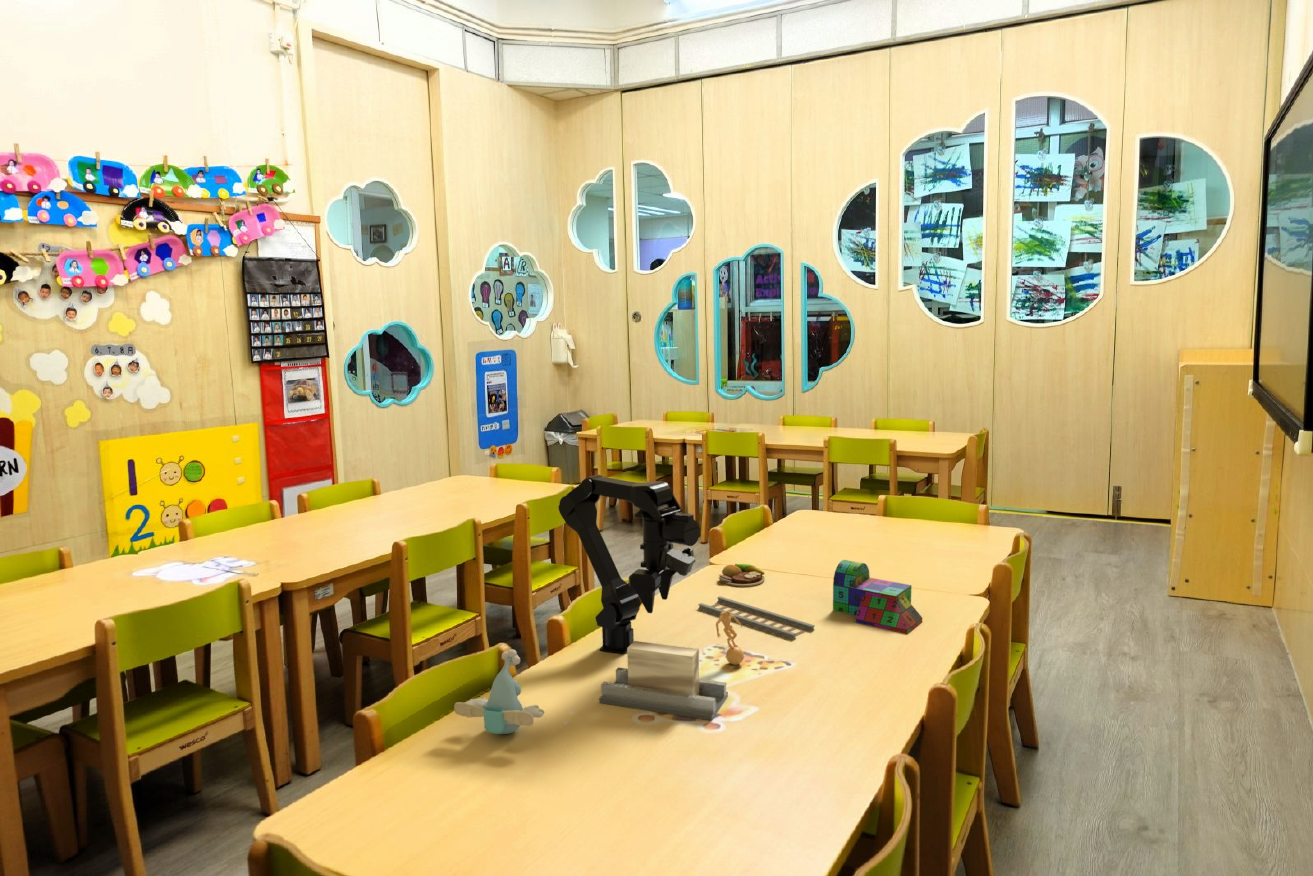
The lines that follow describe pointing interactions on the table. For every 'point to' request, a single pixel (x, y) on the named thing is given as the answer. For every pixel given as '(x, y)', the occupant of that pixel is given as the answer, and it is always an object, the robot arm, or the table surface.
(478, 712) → the toy figure
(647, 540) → the robot arm
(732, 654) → the figurine
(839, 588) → the toy train engine
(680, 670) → the door panel
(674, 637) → the table surface
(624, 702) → the floor track
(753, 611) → the model train track
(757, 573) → the toy food set
